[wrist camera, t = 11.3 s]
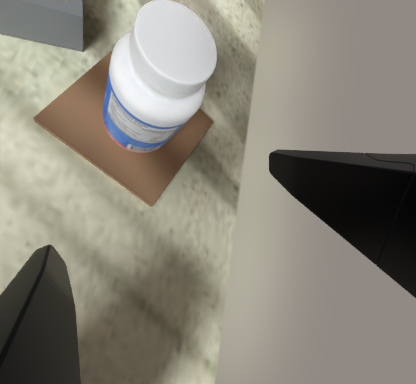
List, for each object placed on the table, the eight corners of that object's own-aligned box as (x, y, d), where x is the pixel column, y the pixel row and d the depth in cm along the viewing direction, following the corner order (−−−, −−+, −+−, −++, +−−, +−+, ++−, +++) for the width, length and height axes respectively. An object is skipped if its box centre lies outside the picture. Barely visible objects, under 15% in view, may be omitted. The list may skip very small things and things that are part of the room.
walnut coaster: (150, 206, 19) (152, 205, 19) (34, 121, 17) (33, 118, 16) (210, 124, 23) (213, 122, 23) (125, 43, 20) (126, 38, 20)
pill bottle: (133, 77, 20) (173, -38, 11) (181, 125, 21) (248, 56, 13) (84, 119, 17) (86, 15, 9) (141, 169, 19) (190, 121, 10)
